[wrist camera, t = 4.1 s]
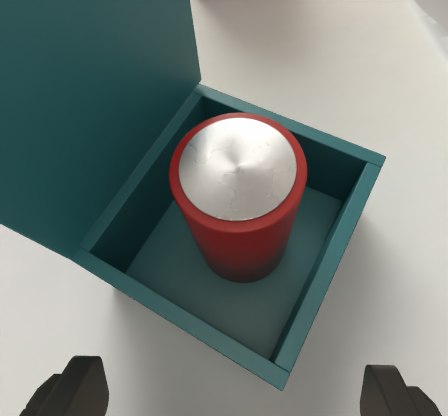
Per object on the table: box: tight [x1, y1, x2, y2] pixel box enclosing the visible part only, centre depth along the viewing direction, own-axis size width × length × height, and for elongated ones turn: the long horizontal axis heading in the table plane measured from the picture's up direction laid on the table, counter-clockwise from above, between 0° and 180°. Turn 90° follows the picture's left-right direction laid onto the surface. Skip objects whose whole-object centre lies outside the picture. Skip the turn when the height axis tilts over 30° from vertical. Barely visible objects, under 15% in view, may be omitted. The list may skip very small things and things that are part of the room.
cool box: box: [69, 84, 386, 391], centre depth 23 cm, size 14×15×7 cm
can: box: [169, 113, 307, 283], centre depth 20 cm, size 6×6×11 cm
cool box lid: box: [0, 0, 201, 258], centre depth 15 cm, size 15×15×5 cm
